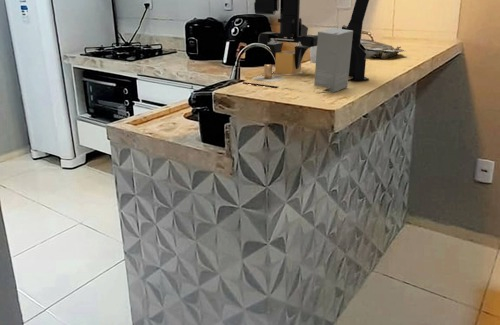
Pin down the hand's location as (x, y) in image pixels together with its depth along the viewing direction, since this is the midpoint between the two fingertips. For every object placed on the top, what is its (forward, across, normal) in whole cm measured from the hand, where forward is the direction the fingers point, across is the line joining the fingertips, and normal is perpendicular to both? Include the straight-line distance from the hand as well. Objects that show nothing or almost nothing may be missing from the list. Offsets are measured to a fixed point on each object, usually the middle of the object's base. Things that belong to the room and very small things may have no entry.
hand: (288, 67), depth 151 cm
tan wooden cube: (+1, 0, 0) cm, 1 cm away
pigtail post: (+1, 0, +12) cm, 12 cm away
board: (+3, 0, +6) cm, 7 cm away
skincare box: (+3, -19, +10) cm, 21 cm away
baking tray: (+3, -5, -57) cm, 57 cm away
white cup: (+3, +1, -26) cm, 26 cm away
